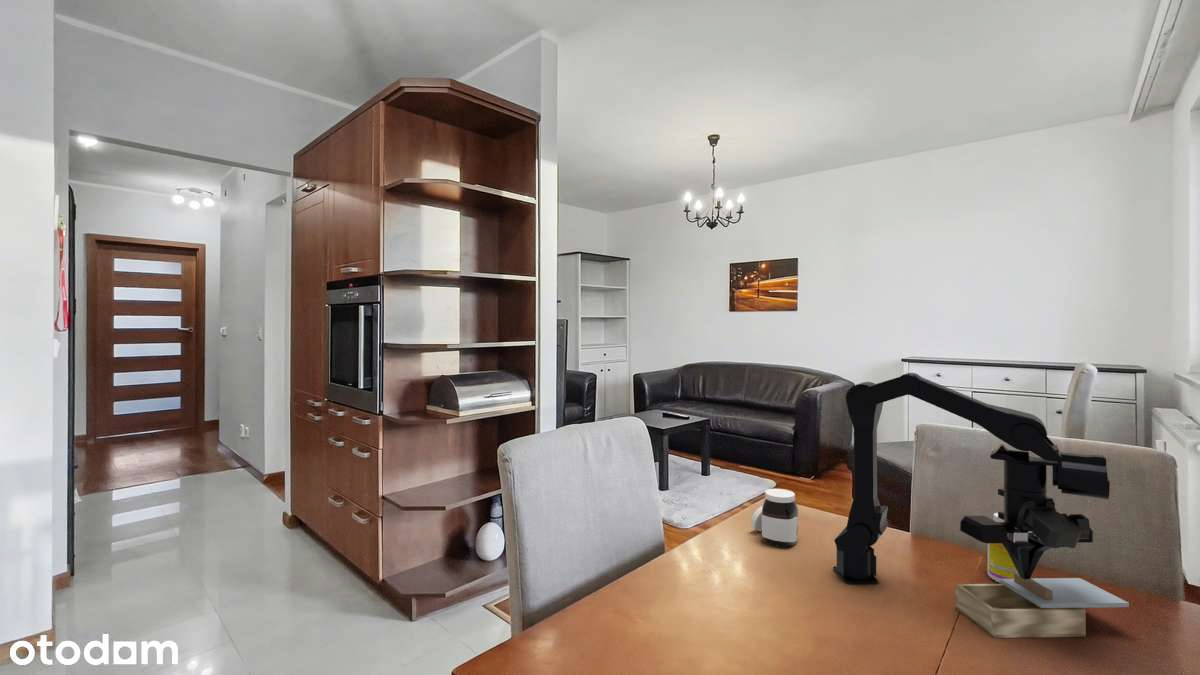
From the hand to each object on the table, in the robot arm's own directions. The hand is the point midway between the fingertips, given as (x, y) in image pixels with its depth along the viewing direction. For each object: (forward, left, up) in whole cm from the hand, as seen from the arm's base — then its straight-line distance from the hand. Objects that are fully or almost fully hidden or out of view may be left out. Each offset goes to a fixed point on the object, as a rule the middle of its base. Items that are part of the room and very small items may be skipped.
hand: (1024, 578), depth 89 cm
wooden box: (-1, 0, -8) cm, 8 cm away
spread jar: (-30, +37, -8) cm, 49 cm away
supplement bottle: (+9, +15, -8) cm, 19 cm away
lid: (+6, 0, -3) cm, 7 cm away
